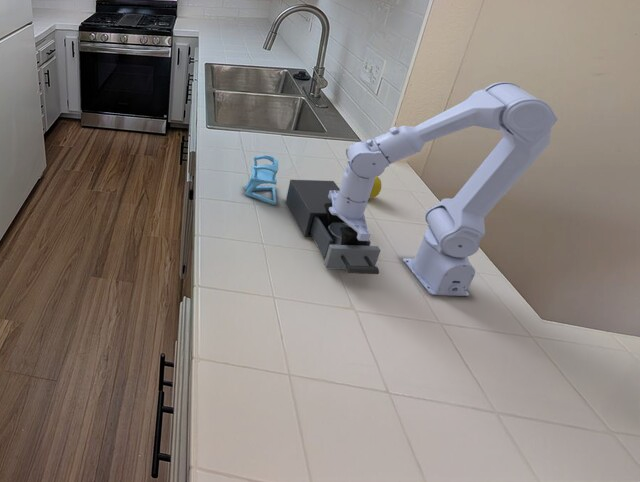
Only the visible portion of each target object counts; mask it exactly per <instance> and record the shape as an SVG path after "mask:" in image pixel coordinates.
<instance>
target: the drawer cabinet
mask: <svg viewBox="0 0 640 482" xmlns="http://www.w3.org/2000/svg"><path fill="white" fill-rule="evenodd" d="M339 189H340V186H338V185H337V184H336V182H335V181H334V180H317V179H316V180H314V179H311V180H310V179H290V180H289V184H288V188H287V193H286V199H285V204H286V206H287V207H288V209H289V211H290V213H291V215H292V217H293V219H294V221H295V222H296V224H297V226H298V228H299V230H300V232H301V234H302V236H303V237H304V238H310V239H311V238H312V239H313V237H312V235H311V233H310V232H309V230H310V226H311V222H312V218H313V215H314V216H327V213H326V209H325V206H324V205H325V203H331V202H332V200H331V199H329V198H328V195H329V191H330V190H331V191H338V192H339Z"/></svg>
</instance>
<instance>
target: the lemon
mask: <svg viewBox="0 0 640 482" xmlns="http://www.w3.org/2000/svg"><path fill="white" fill-rule="evenodd" d="M381 191H382V180H381V179H380V178H379V176H376V177H375V180H374V184H373V187H372V190H371V193H370V196H369V199H373V198H376V197H377V196H378V195H380V192H381Z"/></svg>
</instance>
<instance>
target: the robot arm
mask: <svg viewBox="0 0 640 482" xmlns="http://www.w3.org/2000/svg"><path fill="white" fill-rule="evenodd" d="M558 120H559V119H558V117H557V115H556V114H555V112H554V110H553V109H552V107H551V106H550V105H549V103H548V102H546V101H544V100H542V99H540V98H537V97H536V96H534V95H532V94H531V93H529V92H527V91H525V90H524V89H522V88H521V87H520V86H519V85H517V84H516V83H513V82H509V81H499V82H495V83H492V84H490V85H488V86H486V87H485V88H481V89H478V90H475V91H474V92H473V93H472V94H471V95H470V96H468V97H467V98H466V99H465V100H464V101H462V102H460V103H458V104H456V105H454V106H451V107H450V108H448V109H446V110H444V111H442V112H441V113H439V114H437V115H434V116H433V117H431V118H428V119H427V120H425V121H423V122H421V123H419V124H418V125H416V126H410V125H401V126H399V127H397V126H393V127H390V128H389V129H388V130H389V131H387V132H385V133H383V134H381V135H378V136H376V137H374V138H372V139H371V138H369V139H366V140H365V141H357V142H354V143H352V144H351V145H350V146H349V147H348V148H346V149H345V155H346V158H347V159H348V161H347V162H346V165H345V170H344V172H343V175H342V178H341V182H340V185H339V192H338V191H331V190H330V191H329V195H328V198H329V199H331V200H332V202H331V203H325V205H324V206H325V209H326V213H327V219H328V227H329V225H330V224H331V223H332V222H345V223H347V224H348V225H349V226H350V228H349V227H340V230H341V235H342V241H341V245H359V244H360V243H362V242H363V241H369V240H370V239H371V235H372V233H371V232H370V230H369V229H368V225H367V220H366V216H365V212H366V208H367V205H368V202H369V199H370V198H369V196H370V193H371V190H372V187H373V184H374V180H375V177H376V176H377V177H380V176H381V175H382V174H383V173H385V169H386V168H388V167H389V166H390V165H391V164H394V163H397V162H399V161H401V160H404V159H406V158H408V157H411V156H413V155H415V154H418V153H420V152H422V151H423V149H424V146H425V144H426V143H429V142H431V141H435V140H436V139H439V138H442V137H445V136H448V135H451V134H454V133H456V132H459V131H461V130H464V129H467V128H470V127H474V126H475V127H480V128H485V129H489V130H493V131H494V130H495V131H500V132H501V134H502V138H501V139H500V141H499V142H498V143H497V145H496V146H495V147H494V148H493V149H492V150H491V152H490V153H489V155H488V156H487V157H486V158H485V159H484V160H483V162H482V163H481V164H480V165H479V166H478V168H477V169H476V170H475V171H474V173H473V174H472V175H471V176H470V178H469V179H468V180H467V181H466V182H465V184H464V185H463V186H462V187H461V188H460V190H459V191H458V192H457V193H456V194H455V196H454V197H453V198H442V199H441V200H440V202H438V203H437V204H436V205H434V206H432V207H430V208H428V209H427V210H426V212H425V215H424V220H425V222H426V223H427V227H426V230H425V232H424V235H423V237H422V239H421V242H420V244H419V247H418V250H417V251H416V254H415V256H414V258H412V257H411V258H410V257H404V258H402V261H403V263H404V264H405V265H406V266H407V267H408V269H409V270H410V271H411V273H413V275H414V276H415V278H416V279H417V280H418V281H419V283H420V284H421V285H422V286H423V288H425V290H426V291H427V292H428V293H429V294H430V295H431V296H432V295H433V296H456V297H457V296H458V297H469V296H470V293H469V292H468V291H469V288H470V285H471V284H472V282H473V279H474V278H475V275H476V270H475V268H474V266H473V265H472V264H471V262H470V261H469V258H468V257H470V256H473V255H475V254H476V253H477V252H478V251H479V249H480V243H481V240H482V239H483V237H485V234H486V228H485V227H486V225H485V217H487V215H488V214H489V213H490V212H491V211H492V210H493V209H494V208H495V206H496V205H497V204H498V203H499V202H500V201H501V200H502V198H503V197H504V196H505V195H506V194H507V193H508V192H509V190H510V189H511V188H512V187H513V186H514V185H515V184H516V183H517V182H518V181H519V179H520V178H521V177H522V176H523V175H524V174H525V173H526V172H527V171H528V169H529V168H530V167H531V166H532V165H533V164H534V163H535V162H536V160H537V159H538V158H539V157H540V156H541V155H542V154H543V152H545V150H546V149H547V148H548V146H549V145H550V142H551V141H550V140H551V134H552V133H551V132H552V127H553V126H555V124H556V123H557V122H558Z"/></svg>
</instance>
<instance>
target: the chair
mask: <svg viewBox="0 0 640 482" xmlns="http://www.w3.org/2000/svg"><path fill="white" fill-rule="evenodd" d="M259 160H268V161H269V162H271V164H270V163H269V164H268V163H266V164H261V165H258V161H259ZM250 168H251V170H250V171H251V176H250V178H249V180H248V182H247V183H246V185H245V188H244V190H245V193H244V195H245V196H248V197H251V198H254V199H256V200H259V201H261V202H264V203H267V204H270V205H273V206H276V205H277V196H276V195H277V194H276V187H275V185H277V183H278V182H277V173H278V171H279V160H278V159H277V158H275V157H273V156H271V155H267V154H262V155H258V156H253V165H251V167H250ZM263 184H270V185H263ZM253 191H272V199H270V198H267V197H265V196H262V195H260V194H257V193H255V192H253Z"/></svg>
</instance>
